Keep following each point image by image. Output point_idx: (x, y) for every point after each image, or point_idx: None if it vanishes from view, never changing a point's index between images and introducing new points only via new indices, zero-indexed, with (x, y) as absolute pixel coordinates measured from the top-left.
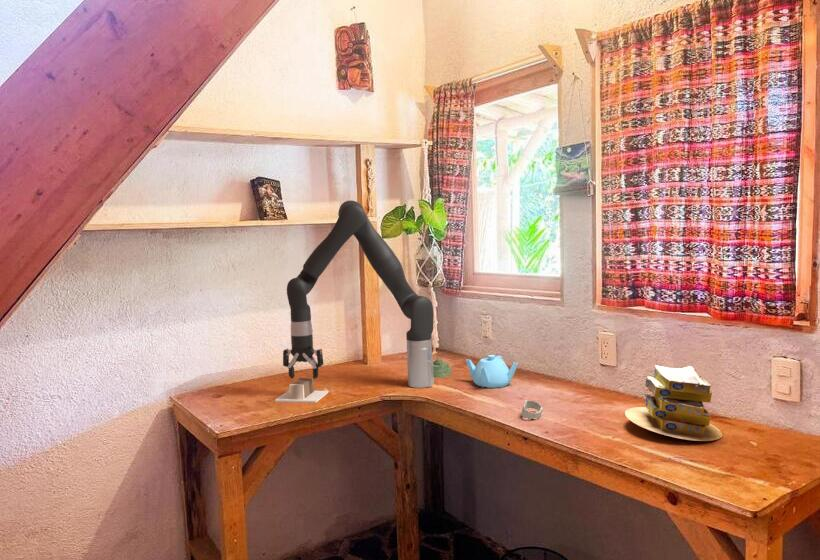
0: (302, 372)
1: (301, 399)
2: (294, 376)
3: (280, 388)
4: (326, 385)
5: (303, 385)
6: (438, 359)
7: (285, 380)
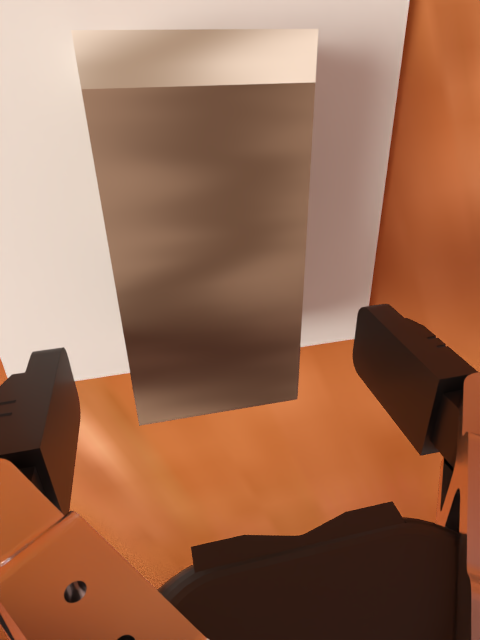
0: None
1: None
2: (356, 369)
3: None
4: (147, 514)
5: (79, 67)
6: None
7: None
